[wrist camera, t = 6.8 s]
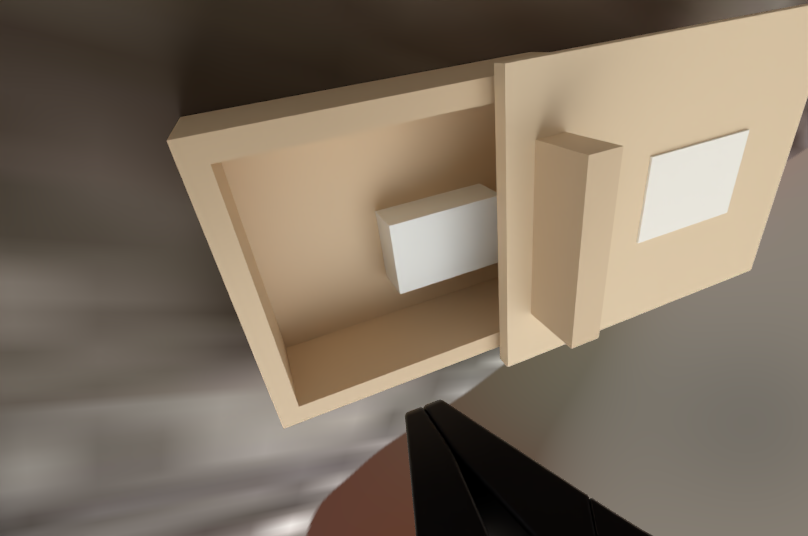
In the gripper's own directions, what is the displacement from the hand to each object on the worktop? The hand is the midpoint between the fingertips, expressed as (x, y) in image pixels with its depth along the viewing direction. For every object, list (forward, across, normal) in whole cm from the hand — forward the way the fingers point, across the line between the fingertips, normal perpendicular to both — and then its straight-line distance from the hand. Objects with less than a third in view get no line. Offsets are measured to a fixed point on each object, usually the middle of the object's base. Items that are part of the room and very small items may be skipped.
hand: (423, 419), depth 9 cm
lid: (+6, -13, 0) cm, 14 cm away
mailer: (+11, -3, 0) cm, 11 cm away
